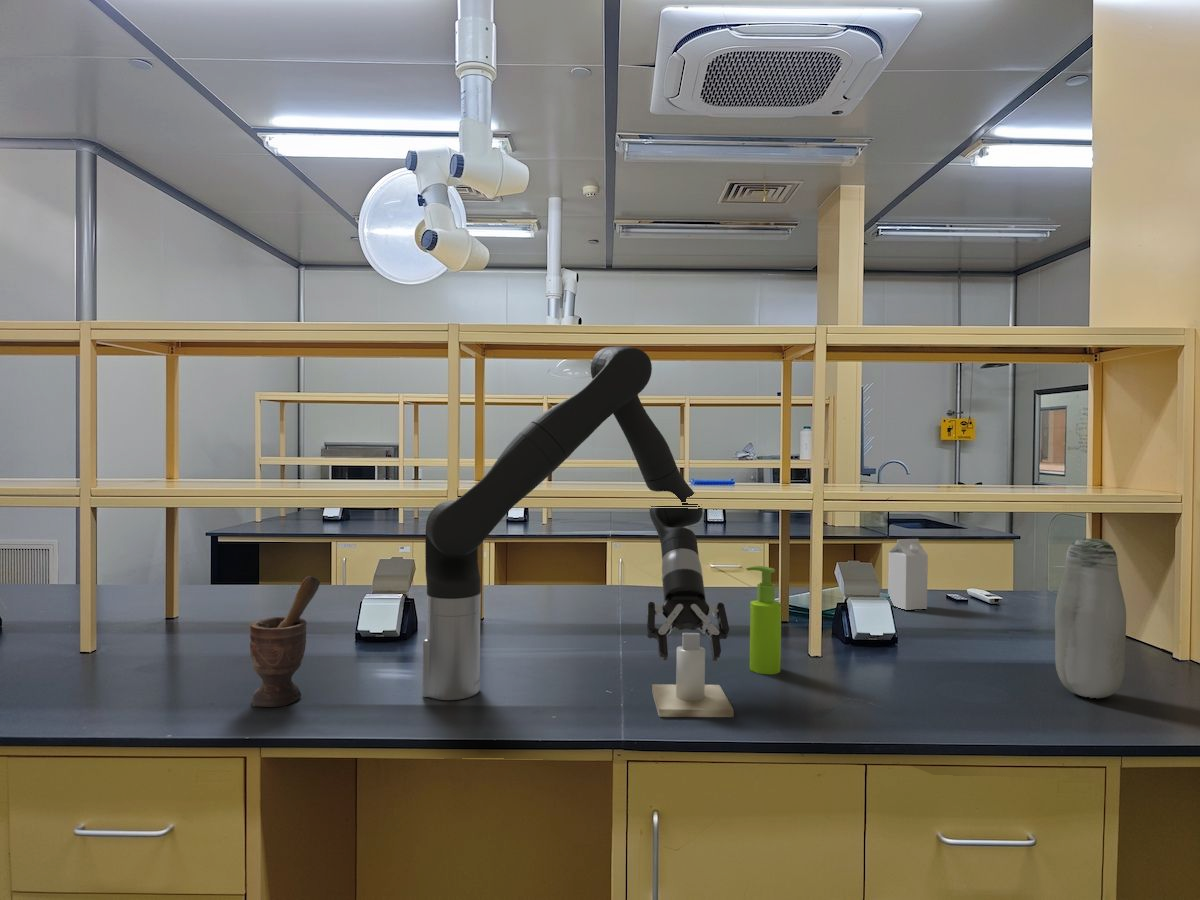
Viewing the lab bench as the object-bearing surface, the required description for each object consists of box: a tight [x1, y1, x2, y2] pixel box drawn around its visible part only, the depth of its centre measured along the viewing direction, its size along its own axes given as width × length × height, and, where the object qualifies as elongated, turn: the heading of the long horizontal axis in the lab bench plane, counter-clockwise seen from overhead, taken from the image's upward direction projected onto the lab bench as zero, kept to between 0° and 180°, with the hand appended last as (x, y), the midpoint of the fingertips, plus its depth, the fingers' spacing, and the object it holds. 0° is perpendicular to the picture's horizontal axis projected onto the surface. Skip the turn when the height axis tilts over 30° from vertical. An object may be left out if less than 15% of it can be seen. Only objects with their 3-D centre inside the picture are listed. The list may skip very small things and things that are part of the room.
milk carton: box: [887, 538, 929, 610], centre depth 196 cm, size 7×7×19 cm
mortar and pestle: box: [249, 575, 321, 708], centre depth 120 cm, size 12×9×20 cm
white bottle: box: [675, 632, 706, 701], centre depth 120 cm, size 5×5×11 cm
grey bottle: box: [1054, 538, 1127, 699], centre depth 127 cm, size 10×10×28 cm
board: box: [651, 683, 735, 718], centre depth 120 cm, size 12×12×1 cm
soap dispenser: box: [745, 565, 782, 675], centre depth 139 cm, size 6×7×20 cm
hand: (690, 658), depth 121 cm, fingers open, 8 cm apart
